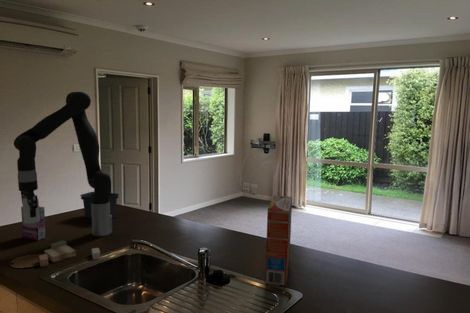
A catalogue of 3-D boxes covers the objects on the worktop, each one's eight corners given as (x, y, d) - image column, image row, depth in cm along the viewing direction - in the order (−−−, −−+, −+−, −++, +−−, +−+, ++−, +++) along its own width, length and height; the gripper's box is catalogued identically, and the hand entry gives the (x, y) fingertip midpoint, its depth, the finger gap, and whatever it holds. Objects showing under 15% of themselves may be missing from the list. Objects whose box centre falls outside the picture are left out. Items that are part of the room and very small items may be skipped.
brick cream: (93, 259, 161) (100, 258, 162) (92, 253, 161) (100, 252, 162) (91, 254, 166) (98, 253, 168) (91, 248, 166) (98, 247, 167)
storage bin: (78, 218, 218) (77, 195, 216) (96, 211, 233) (95, 189, 231) (107, 222, 211) (106, 198, 209) (123, 215, 226) (123, 193, 224)
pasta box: (285, 286, 140) (288, 211, 136) (265, 283, 142) (267, 209, 138) (289, 261, 163) (292, 196, 158) (271, 260, 164) (273, 195, 160)
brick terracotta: (39, 261, 158) (39, 255, 158) (47, 260, 160) (46, 253, 159) (40, 267, 153) (40, 260, 153) (48, 265, 155) (48, 258, 154)
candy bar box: (46, 237, 186) (45, 206, 184) (38, 241, 181) (36, 209, 179) (31, 234, 190) (29, 204, 188) (22, 237, 185) (20, 206, 183)
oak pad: (66, 249, 171) (66, 244, 171) (76, 255, 164) (75, 250, 164) (44, 255, 164) (44, 250, 163) (53, 262, 157) (52, 257, 157)
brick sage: (62, 246, 176) (62, 240, 175) (66, 247, 174) (66, 241, 174) (51, 250, 170) (50, 244, 170) (55, 251, 169) (55, 245, 169)
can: (33, 224, 163) (30, 199, 161) (20, 223, 164) (18, 198, 163) (43, 220, 169) (41, 195, 168) (31, 219, 171) (29, 194, 169)
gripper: (42, 180, 162) (45, 217, 164) (31, 176, 171) (33, 210, 174) (24, 183, 156) (27, 220, 159) (13, 178, 166) (16, 213, 168)
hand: (30, 215), depth 166 cm, fingers closed on can, 6 cm apart
